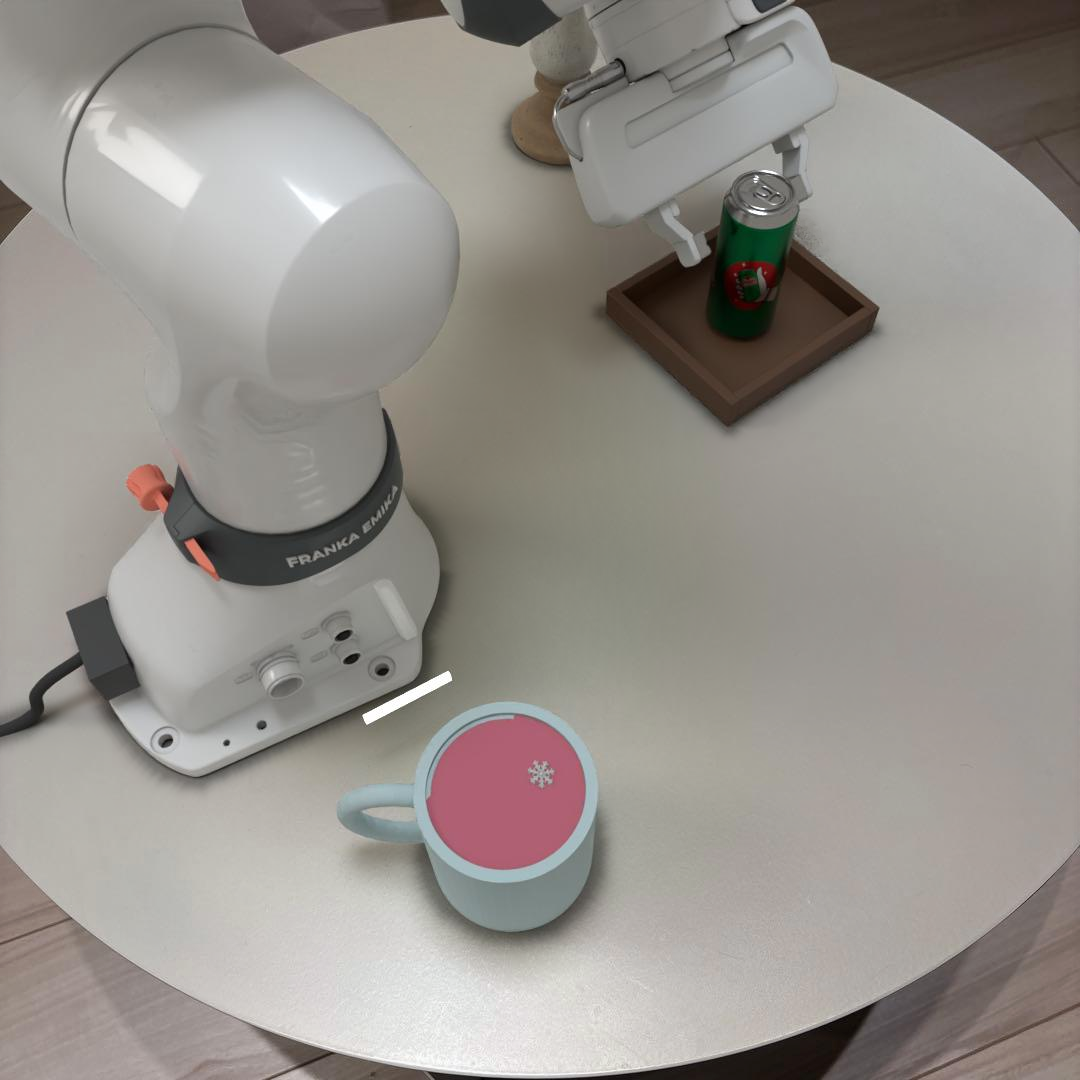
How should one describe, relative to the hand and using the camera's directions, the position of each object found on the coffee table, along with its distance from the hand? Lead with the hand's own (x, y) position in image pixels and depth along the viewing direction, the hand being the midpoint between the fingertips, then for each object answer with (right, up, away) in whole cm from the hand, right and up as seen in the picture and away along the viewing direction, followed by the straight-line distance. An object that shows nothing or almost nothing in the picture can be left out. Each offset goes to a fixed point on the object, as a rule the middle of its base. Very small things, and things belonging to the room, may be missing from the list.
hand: (749, 231), depth 78 cm
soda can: (+1, -5, +7) cm, 8 cm away
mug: (-18, -39, -13) cm, 45 cm away
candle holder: (-12, +13, +19) cm, 26 cm away
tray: (0, -5, +7) cm, 9 cm away
